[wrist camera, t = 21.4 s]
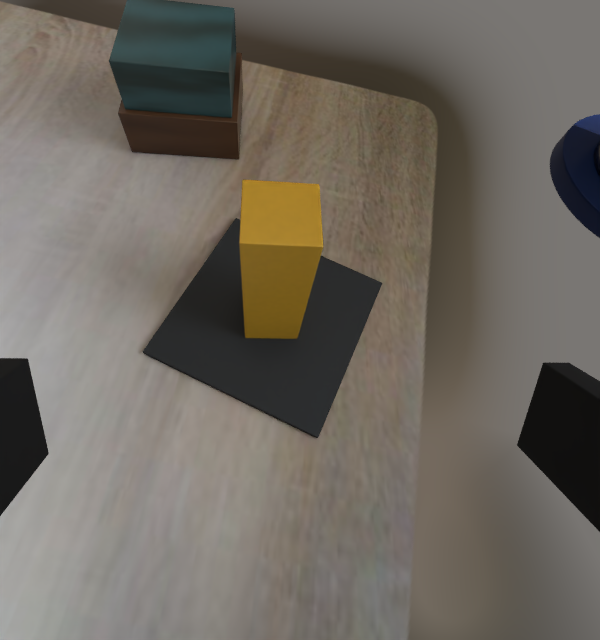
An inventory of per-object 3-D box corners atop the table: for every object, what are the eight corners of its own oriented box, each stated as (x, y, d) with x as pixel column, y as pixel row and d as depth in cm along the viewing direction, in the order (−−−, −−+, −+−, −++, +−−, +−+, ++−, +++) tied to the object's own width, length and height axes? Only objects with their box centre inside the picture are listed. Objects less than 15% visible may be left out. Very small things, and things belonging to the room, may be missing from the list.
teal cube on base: (239, 159, 36) (235, 76, 29) (131, 151, 35) (100, 64, 28) (242, 92, 40) (240, 5, 33) (147, 83, 39) (122, -9, 32)
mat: (380, 285, 32) (382, 282, 32) (317, 438, 26) (318, 437, 26) (236, 220, 33) (235, 217, 33) (143, 353, 27) (142, 351, 27)
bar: (297, 339, 29) (323, 246, 18) (244, 338, 28) (239, 243, 17) (296, 293, 30) (319, 183, 20) (246, 291, 30) (242, 178, 19)
